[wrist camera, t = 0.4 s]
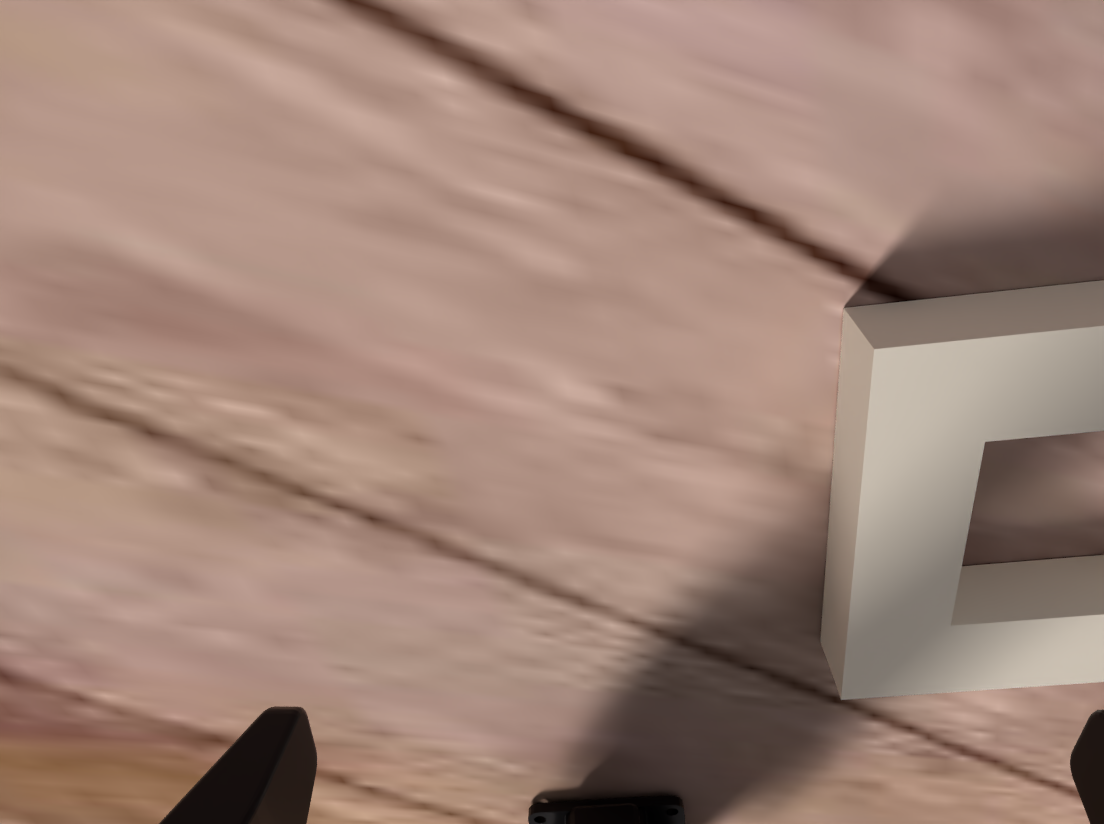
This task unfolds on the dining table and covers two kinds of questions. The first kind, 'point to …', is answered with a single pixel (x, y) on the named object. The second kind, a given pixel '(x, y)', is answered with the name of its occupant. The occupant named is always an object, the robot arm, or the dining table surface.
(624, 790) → the dining table surface
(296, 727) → the robot arm
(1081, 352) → the hole plate
